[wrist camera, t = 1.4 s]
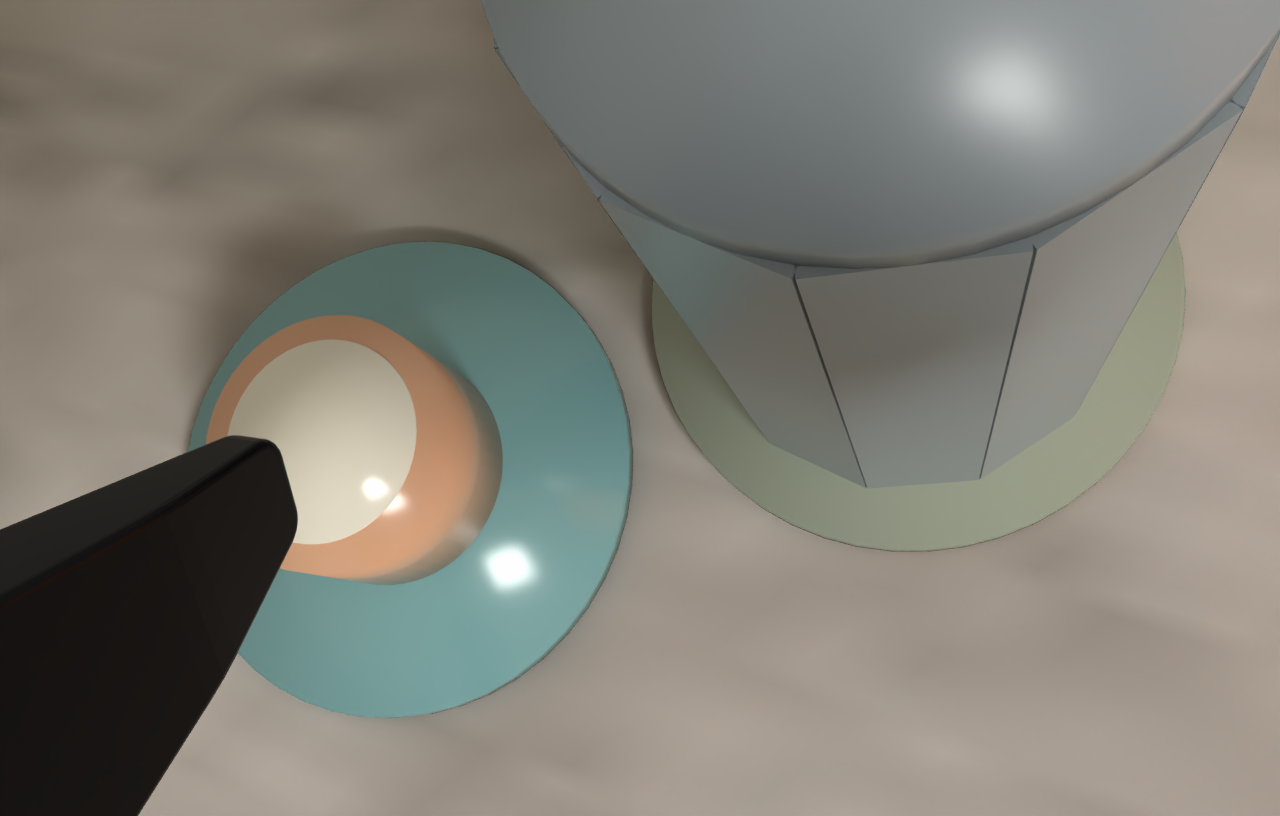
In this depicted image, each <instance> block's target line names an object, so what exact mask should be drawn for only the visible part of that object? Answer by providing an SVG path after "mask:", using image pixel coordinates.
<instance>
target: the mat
mask: <svg viewBox="0 0 1280 816" xmlns="http://www.w3.org/2000/svg"><path fill="white" fill-rule="evenodd" d="M1185 295H1186V290H1185V278H1184V266H1183V257H1182V253H1181V248H1180V244H1179V240H1178V236H1177V232H1176V234H1175V236H1174V237H1173V239H1172V241H1171V243H1170V245H1169V246H1168V248H1167V250H1166V252H1165V254H1164V256H1163V257H1162V259H1161V261H1160V263H1159V265H1158V266H1157V268H1156V270H1155V272H1154V274H1153V275H1152V277H1151V279H1150V281H1149V283H1148V284H1147V286H1146V288H1145V290H1144V292H1143V294H1142V295H1141V297H1140V299H1139V301H1138V303H1137V304H1136V306H1135V308H1134V310H1133V312H1132V313H1131V315H1130V317H1129V319H1128V321H1127V322H1126V324H1125V326H1124V328H1123V330H1122V332H1121V333H1120V335H1119V337H1118V339H1117V341H1116V342H1115V344H1114V346H1113V348H1112V350H1111V351H1110V353H1109V355H1108V357H1107V359H1106V360H1105V362H1104V364H1103V366H1102V368H1101V370H1100V371H1099V373H1098V375H1097V377H1096V379H1095V380H1094V382H1093V384H1092V386H1091V388H1090V389H1089V391H1088V393H1087V395H1086V397H1085V398H1084V400H1083V402H1082V404H1081V406H1080V408H1079V409H1078V411H1077V413H1076V415H1075V416H1074V418H1072V419H1071V420H1069V421H1068V422H1066V423H1065V424H1063V425H1062V426H1060V427H1059V428H1057V429H1056V430H1054V431H1053V432H1051V433H1050V434H1048V435H1047V436H1045V437H1044V438H1042V439H1041V440H1039V441H1038V442H1036V443H1035V444H1033V445H1032V446H1030V447H1029V448H1027V449H1026V450H1024V451H1023V452H1021V453H1020V454H1018V455H1017V456H1015V457H1014V458H1012V459H1010V460H1009V461H1007V462H1006V463H1004V464H1003V465H1001V466H1000V467H998V468H997V469H995V470H994V471H992V472H991V473H989V474H988V475H986V476H985V477H983V478H982V479H980V478H979V480H974V481H961V482H947V483H934V484H921V485H908V486H894V487H881V488H867V487H866V488H864V487H862V486H860V485H858V484H856V483H853V482H851V481H849V480H847V479H845V478H843V477H841V476H838V475H836V474H834V473H832V472H830V471H828V470H825V469H823V468H821V467H819V466H817V465H815V464H813V463H810V462H808V461H806V460H804V459H802V458H800V457H797V456H795V455H793V454H791V453H789V452H787V451H784V450H782V449H780V448H778V447H776V446H774V445H772V444H770V443H769V442H768V441H767V439H766V438H765V437H764V435H763V434H762V432H761V431H760V430H759V428H758V427H757V425H756V424H755V422H754V421H753V420H752V418H751V417H750V415H749V414H748V412H747V411H746V410H745V408H744V407H743V405H742V404H741V403H740V401H739V400H738V398H737V397H736V395H735V394H734V393H733V391H732V390H731V388H730V387H729V385H728V384H727V383H726V381H725V380H724V378H723V377H722V376H721V374H720V373H719V371H718V370H717V368H716V367H715V366H714V364H713V363H712V361H711V360H710V358H709V357H708V356H707V354H706V353H705V351H704V350H703V348H702V347H701V346H700V344H699V343H698V341H697V340H696V339H695V337H694V336H693V334H692V333H691V331H690V330H689V329H688V327H687V326H686V324H685V323H684V321H683V320H682V319H681V317H680V316H679V314H678V313H677V312H676V310H675V309H674V307H673V306H672V304H671V303H670V302H669V300H668V299H667V297H666V296H665V294H664V293H663V292H662V290H661V289H660V287H659V286H658V285H657V283H656V282H655V280H654V282H653V288H652V326H653V335H654V344H655V351H656V355H657V359H658V363H659V367H660V371H661V375H662V379H663V382H664V384H665V387H666V389H667V392H668V394H669V397H670V399H671V402H672V404H673V407H674V409H675V411H676V413H677V414H678V416H679V418H680V420H681V421H682V423H683V425H684V427H685V428H686V430H687V432H688V434H689V435H690V437H691V438H692V440H693V441H694V442H695V443H696V445H697V446H698V447H699V449H700V450H701V451H702V453H703V454H704V455H705V457H706V458H707V459H708V460H709V462H710V463H711V464H712V465H713V466H714V467H715V468H716V469H717V470H718V471H719V472H720V473H721V474H722V475H723V476H724V477H725V478H726V479H727V480H728V481H729V482H730V483H731V484H732V485H733V486H734V487H735V488H737V489H738V490H739V491H740V492H742V493H743V494H744V495H746V496H747V497H748V498H750V499H751V500H752V501H754V502H755V503H756V504H758V505H759V506H760V507H762V508H763V509H765V510H766V511H768V512H770V513H772V514H774V515H775V516H777V517H779V518H781V519H782V520H784V521H786V522H788V523H789V524H791V525H793V526H796V527H798V528H801V529H803V530H805V531H808V532H810V533H813V534H815V535H818V536H820V537H823V538H826V539H830V540H833V541H837V542H841V543H845V544H849V545H852V546H856V547H863V548H870V549H878V550H886V551H937V550H944V549H952V548H960V547H966V546H970V545H974V544H978V543H982V542H986V541H990V540H993V539H997V538H1001V537H1003V536H1006V535H1008V534H1011V533H1013V532H1016V531H1018V530H1021V529H1023V528H1026V527H1028V526H1030V525H1033V524H1035V523H1037V522H1039V521H1040V520H1042V519H1044V518H1046V517H1047V516H1049V515H1051V514H1053V513H1055V512H1056V511H1058V510H1060V509H1062V508H1063V507H1065V506H1067V505H1068V504H1069V503H1071V502H1072V501H1073V500H1075V499H1076V498H1077V497H1079V496H1080V495H1081V494H1083V493H1084V492H1085V491H1086V490H1088V489H1089V488H1090V487H1092V486H1093V485H1094V484H1096V483H1097V482H1098V481H1099V480H1100V479H1101V478H1102V477H1103V476H1104V475H1105V474H1106V473H1107V472H1108V471H1109V470H1110V469H1111V468H1112V467H1113V466H1114V465H1115V464H1116V463H1117V462H1118V461H1119V460H1120V459H1121V458H1122V456H1123V455H1124V454H1125V453H1126V451H1127V450H1128V449H1129V447H1130V446H1131V445H1132V443H1133V442H1134V441H1135V439H1136V438H1137V437H1138V436H1139V434H1140V433H1141V432H1142V430H1143V429H1144V428H1145V426H1146V425H1147V423H1148V421H1149V419H1150V418H1151V416H1152V414H1153V412H1154V410H1155V409H1156V407H1157V405H1158V403H1159V401H1160V399H1161V398H1162V396H1163V394H1164V391H1165V389H1166V386H1167V384H1168V381H1169V378H1170V376H1171V373H1172V370H1173V368H1174V365H1175V362H1176V359H1177V354H1178V350H1179V345H1180V340H1181V336H1182V331H1183V326H1184V311H1185Z"/></svg>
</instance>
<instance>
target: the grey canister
mask: <svg viewBox="0 0 1280 816" xmlns="http://www.w3.org/2000/svg"><path fill="white" fill-rule="evenodd" d="M482 4H483V8H484V12H485V14H486V17H487V19H488V22H489V24H490V27H491V30H492V32H493V35H494V48H495V49H496V50H495V51H496V52H497V54H498V55H499V57H500V58H501V60H502V61H503V62H504V64H505V65H506V67H507V68H508V70H509V71H510V73H511V74H512V76H513V77H514V78H515V80H516V81H517V83H518V84H519V86H520V87H521V89H522V91H523V92H524V94H525V95H526V96H527V98H528V99H529V101H530V102H531V104H532V105H533V106H534V108H535V109H536V111H537V112H538V114H539V115H540V116H541V118H542V119H543V121H544V122H545V124H546V125H547V126H548V128H549V129H550V131H551V132H552V134H553V135H554V137H555V138H556V140H557V141H558V143H559V144H560V145H561V147H562V148H563V150H564V151H565V153H566V154H567V156H568V157H569V159H570V160H571V161H572V163H573V164H574V166H575V167H576V169H577V170H578V172H579V173H580V175H581V176H582V177H583V179H584V180H585V182H586V183H587V185H588V186H589V188H590V189H591V191H592V192H593V193H594V195H595V196H596V198H597V199H598V201H599V202H600V204H601V205H602V206H603V208H604V209H605V211H606V212H607V213H608V215H609V216H610V218H611V219H612V221H613V222H614V223H615V225H616V226H617V228H618V229H619V231H620V232H621V233H622V235H623V236H624V238H625V239H626V240H627V242H628V243H629V245H630V246H631V248H632V249H633V250H634V252H635V253H636V255H637V256H638V258H639V259H640V260H641V262H642V263H643V265H644V266H645V267H646V269H647V270H648V272H649V273H650V275H651V276H652V277H653V279H654V280H655V282H656V283H657V285H658V286H659V287H660V289H661V290H662V292H663V293H664V294H665V296H666V297H667V299H668V300H669V302H670V303H671V304H672V306H673V307H674V309H675V310H676V312H677V313H678V314H679V316H680V317H681V319H682V320H683V321H684V323H685V324H686V326H687V327H688V329H689V330H690V331H691V333H692V334H693V336H694V337H695V339H696V340H697V341H698V343H699V344H700V346H701V347H702V348H703V350H704V351H705V353H706V354H707V356H708V357H709V358H710V360H711V361H712V363H713V364H714V366H715V367H716V368H717V370H718V371H719V373H720V374H721V376H722V377H723V378H724V380H725V381H726V383H727V384H728V385H729V387H730V388H731V390H732V391H733V393H734V394H735V395H736V397H737V398H738V400H739V401H740V403H741V404H742V405H743V407H744V408H745V410H746V411H747V412H748V414H749V415H750V417H751V418H752V420H753V421H754V422H755V424H756V425H757V427H758V428H759V430H760V431H761V432H762V434H763V435H764V437H765V438H766V439H767V441H768V442H769V443H770V444H772V445H774V446H776V447H778V448H780V449H782V450H784V451H787V452H789V453H791V454H793V455H795V456H797V457H800V458H802V459H804V460H806V461H808V462H810V463H813V464H815V465H817V466H819V467H821V468H823V469H825V470H828V471H830V472H832V473H834V474H836V475H838V476H841V477H843V478H845V479H847V480H849V481H851V482H853V483H856V484H858V485H860V486H862V487H864V488H866V487H867V488H881V487H894V486H908V485H921V484H934V483H947V482H961V481H974V480H979V478H980V479H982V478H983V477H985V476H986V475H988V474H989V473H991V472H992V471H994V470H995V469H997V468H998V467H1000V466H1001V465H1003V464H1004V463H1006V462H1007V461H1009V460H1010V459H1012V458H1014V457H1015V456H1017V455H1018V454H1020V453H1021V452H1023V451H1024V450H1026V449H1027V448H1029V447H1030V446H1032V445H1033V444H1035V443H1036V442H1038V441H1039V440H1041V439H1042V438H1044V437H1045V436H1047V435H1048V434H1050V433H1051V432H1053V431H1054V430H1056V429H1057V428H1059V427H1060V426H1062V425H1063V424H1065V423H1066V422H1068V421H1069V420H1071V419H1072V418H1074V416H1075V415H1076V413H1077V411H1078V409H1079V408H1080V406H1081V404H1082V402H1083V400H1084V398H1085V397H1086V395H1087V393H1088V391H1089V389H1090V388H1091V386H1092V384H1093V382H1094V380H1095V379H1096V377H1097V375H1098V373H1099V371H1100V370H1101V368H1102V366H1103V364H1104V362H1105V360H1106V359H1107V357H1108V355H1109V353H1110V351H1111V350H1112V348H1113V346H1114V344H1115V342H1116V341H1117V339H1118V337H1119V335H1120V333H1121V332H1122V330H1123V328H1124V326H1125V324H1126V322H1127V321H1128V319H1129V317H1130V315H1131V313H1132V312H1133V310H1134V308H1135V306H1136V304H1137V303H1138V301H1139V299H1140V297H1141V295H1142V294H1143V292H1144V290H1145V288H1146V286H1147V284H1148V283H1149V281H1150V279H1151V277H1152V275H1153V274H1154V272H1155V270H1156V268H1157V266H1158V265H1159V263H1160V261H1161V259H1162V257H1163V256H1164V254H1165V252H1166V250H1167V248H1168V246H1169V245H1170V243H1171V241H1172V239H1173V237H1174V236H1175V234H1176V232H1177V230H1178V228H1179V227H1180V225H1181V223H1182V221H1183V219H1184V217H1185V216H1186V214H1187V212H1188V210H1189V208H1190V207H1191V205H1192V203H1193V201H1194V199H1195V198H1196V196H1197V194H1198V192H1199V190H1200V189H1201V187H1202V185H1203V183H1204V181H1205V179H1206V178H1207V176H1208V174H1209V172H1210V170H1211V169H1212V167H1213V165H1214V163H1215V161H1216V160H1217V158H1218V156H1219V154H1220V152H1221V151H1222V149H1223V147H1224V145H1225V143H1226V141H1227V140H1228V138H1229V136H1230V134H1231V132H1232V131H1233V129H1234V127H1235V125H1236V123H1237V122H1238V120H1239V118H1240V116H1241V114H1242V113H1243V111H1244V109H1245V107H1246V105H1247V103H1248V101H1249V99H1250V96H1251V94H1252V92H1253V90H1254V88H1255V86H1256V84H1257V81H1258V79H1259V77H1260V75H1261V73H1262V71H1263V69H1264V66H1265V64H1266V62H1267V60H1268V58H1269V56H1270V54H1271V51H1272V49H1273V47H1274V45H1275V43H1276V41H1277V39H1278V37H1279V34H1280V0H482Z"/></svg>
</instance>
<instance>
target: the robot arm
mask: <svg viewBox="0 0 1280 816" xmlns="http://www.w3.org/2000/svg"><path fill="white" fill-rule="evenodd" d="M297 525H298V513H297V508H296V504H295V500H294V497H293V493H292V490H291V486H290V482H289V479H288V475H287V472H286V468H285V464H284V461H283V457H282V454H281V452H280V450H279V448H278V447H277V446H276V444H275V443H273V442H272V441H270V440H267V439H262V438H255V437H247V436H240V435H231V436H226V437H223V438H221V439H218V440H216V441H213V442H211V443H209V444H206V445H204V446H201V447H199V448H197V449H194V450H192V451H189V452H187V453H184V454H182V455H180V456H177V457H175V458H172V459H170V460H168V461H165V462H163V463H160V464H158V465H155V466H153V467H151V468H148V469H146V470H143V471H141V472H138V473H136V474H134V475H131V476H129V477H126V478H124V479H122V480H119V481H117V482H114V483H112V484H109V485H107V486H105V487H102V488H100V489H97V490H95V491H93V492H90V493H88V494H85V495H83V496H80V497H78V498H76V499H73V500H71V501H68V502H66V503H63V504H61V505H59V506H56V507H54V508H51V509H49V510H47V511H44V512H42V513H39V514H37V515H34V516H32V517H30V518H27V519H25V520H22V521H20V522H18V523H15V524H13V525H10V526H8V527H5V528H3V529H1V530H0V816H138V815H139V813H140V812H141V810H142V809H143V807H144V805H145V804H146V802H147V801H148V799H149V798H150V796H151V794H152V793H153V791H154V790H155V788H156V786H157V785H158V783H159V782H160V780H161V779H162V777H163V775H164V774H165V772H166V771H167V769H168V767H169V766H170V764H171V763H172V761H173V760H174V758H175V756H176V755H177V753H178V752H179V750H180V748H181V747H182V745H183V744H184V742H185V741H186V739H187V737H188V736H189V734H190V733H191V731H192V730H193V728H194V726H195V725H196V723H197V722H198V720H199V718H200V717H201V715H202V714H203V712H204V711H205V709H206V707H207V706H208V704H209V703H210V701H211V699H212V698H213V696H214V694H215V693H216V691H217V689H218V688H219V686H220V684H221V683H222V681H223V679H224V678H225V676H226V674H227V672H228V670H229V668H230V666H231V664H232V662H233V661H234V659H235V657H236V655H237V653H238V651H239V649H240V647H241V645H242V643H243V641H244V639H245V637H246V635H247V633H248V631H249V629H250V627H251V625H252V623H253V621H254V619H255V617H256V615H257V613H258V611H259V609H260V607H261V605H262V603H263V601H264V599H265V597H266V595H267V593H268V591H269V589H270V587H271V585H272V583H273V581H274V579H275V577H276V575H277V573H278V571H279V569H280V567H281V565H282V563H283V561H284V559H285V557H286V555H287V553H288V551H289V549H290V547H291V545H292V543H293V540H294V538H295V534H296V531H297Z"/></svg>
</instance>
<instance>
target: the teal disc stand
mask: <svg viewBox="0 0 1280 816" xmlns="http://www.w3.org/2000/svg"><path fill="white" fill-rule="evenodd" d="M231 435H240V436H247V437H255V438H262V439H267V440H270V441H272V442H273V443H275V444H276V446H277V447H278V448H279V450H280V452H281V454H282V457H283V461H284V464H285V468H286V472H287V475H288V479H289V482H290V486H291V490H292V493H293V497H294V500H295V504H296V508H297V513H298V525H297V531H296V534H295V538H294V540H293V543H292V545H291V547H290V549H289V551H288V553H287V555H286V557H285V559H284V561H283V563H282V565H281V567H280V569H279V571H278V573H277V575H276V577H275V579H274V581H273V583H272V585H271V587H270V589H269V591H268V593H267V595H266V597H265V599H264V601H263V603H262V605H261V607H260V609H259V611H258V613H257V615H256V617H255V619H254V621H253V623H252V625H251V627H250V629H249V631H248V633H247V635H246V637H245V639H244V641H243V643H242V645H241V647H240V649H239V651H238V654H239V655H240V656H241V657H242V658H243V659H244V660H245V661H246V662H247V663H248V664H249V665H250V666H251V667H252V668H253V669H254V670H255V671H257V672H258V673H259V674H261V675H262V676H263V677H265V678H266V679H267V680H269V681H270V682H271V683H273V684H274V685H275V686H277V687H278V688H280V689H282V690H284V691H286V692H287V693H289V694H291V695H293V696H295V697H297V698H299V699H300V700H302V701H304V702H307V703H310V704H313V705H316V706H318V707H321V708H324V709H327V710H330V711H334V712H339V713H344V714H349V715H355V716H360V717H382V718H395V717H406V716H415V715H425V714H433V713H437V712H440V711H444V710H448V709H452V708H456V707H460V706H463V705H466V704H468V703H470V702H473V701H475V700H478V699H480V698H483V697H485V696H487V695H490V694H492V693H494V692H495V691H497V690H499V689H500V688H502V687H504V686H506V685H507V684H509V683H511V682H513V681H514V680H516V679H518V678H519V677H520V676H522V675H523V674H524V673H526V672H527V671H528V670H530V669H531V668H532V667H533V666H535V665H536V664H537V663H539V662H540V661H541V660H542V659H544V658H545V657H546V656H547V655H548V654H549V653H550V652H551V651H552V650H553V649H554V648H555V647H556V646H557V645H558V644H559V643H560V642H561V641H562V640H563V639H564V638H565V637H566V636H567V635H568V633H569V632H570V631H571V630H572V628H573V627H574V626H575V624H576V623H577V622H578V620H579V619H580V618H581V617H582V615H583V614H584V613H585V611H586V610H587V609H588V607H589V606H590V604H591V602H592V600H593V599H594V597H595V595H596V594H597V592H598V590H599V588H600V587H601V585H602V583H603V582H604V580H605V578H606V575H607V573H608V571H609V569H610V566H611V564H612V562H613V559H614V557H615V555H616V552H617V550H618V547H619V543H620V540H621V536H622V533H623V530H624V526H625V523H626V519H627V514H628V508H629V502H630V495H631V489H632V471H633V448H632V438H631V428H630V420H629V416H628V412H627V408H626V404H625V399H624V395H623V391H622V389H621V386H620V384H619V381H618V378H617V376H616V373H615V371H614V368H613V365H612V363H611V361H610V360H609V358H608V356H607V354H606V352H605V351H604V349H603V347H602V345H601V343H600V342H599V340H598V338H597V337H596V335H595V334H594V333H593V331H592V330H591V329H590V327H589V326H588V325H587V323H586V322H585V321H584V320H583V318H582V317H581V316H580V314H579V313H578V312H577V311H576V310H575V309H574V308H573V307H572V306H571V305H570V304H569V303H568V302H567V301H566V300H565V299H564V298H563V297H562V296H561V295H560V294H558V293H557V292H556V291H555V290H554V289H553V288H552V287H551V286H550V285H548V284H547V283H545V282H544V281H543V280H541V279H540V278H539V277H537V276H536V275H535V274H533V273H532V272H531V271H529V270H527V269H525V268H523V267H521V266H519V265H518V264H516V263H514V262H512V261H510V260H508V259H506V258H504V257H501V256H498V255H495V254H493V253H490V252H487V251H484V250H482V249H478V248H473V247H468V246H464V245H459V244H454V243H441V242H426V241H424V242H410V243H397V244H392V245H387V246H382V247H377V248H372V249H368V250H365V251H362V252H359V253H356V254H354V255H351V256H348V257H345V258H342V259H340V260H338V261H336V262H334V263H332V264H330V265H328V266H326V267H323V268H321V269H319V270H317V271H316V272H314V273H313V274H311V275H309V276H308V277H306V278H305V279H303V280H302V281H300V282H298V283H297V284H295V285H294V286H292V287H291V288H290V289H289V290H287V291H286V292H285V293H284V294H282V295H281V296H280V297H279V298H278V299H276V300H275V301H274V302H273V303H271V304H270V305H269V306H268V307H267V308H266V309H265V310H264V311H263V312H262V313H261V314H260V315H259V316H258V317H257V318H256V319H255V320H254V322H253V323H252V324H251V325H250V326H249V327H248V328H247V329H246V331H245V332H244V333H243V335H242V336H241V337H240V338H239V340H238V341H237V342H236V343H235V345H234V346H233V347H232V349H231V350H230V352H229V353H228V355H227V357H226V358H225V360H224V361H223V363H222V365H221V366H220V368H219V369H218V371H217V373H216V374H215V377H214V379H213V381H212V383H211V385H210V387H209V389H208V391H207V393H206V395H205V397H204V399H203V402H202V405H201V408H200V410H199V413H198V416H197V419H196V422H195V425H194V427H193V431H192V435H191V440H190V444H189V448H188V452H189V451H192V450H194V449H197V448H199V447H201V446H204V445H206V444H209V443H211V442H213V441H216V440H218V439H221V438H223V437H226V436H231Z"/></svg>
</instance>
